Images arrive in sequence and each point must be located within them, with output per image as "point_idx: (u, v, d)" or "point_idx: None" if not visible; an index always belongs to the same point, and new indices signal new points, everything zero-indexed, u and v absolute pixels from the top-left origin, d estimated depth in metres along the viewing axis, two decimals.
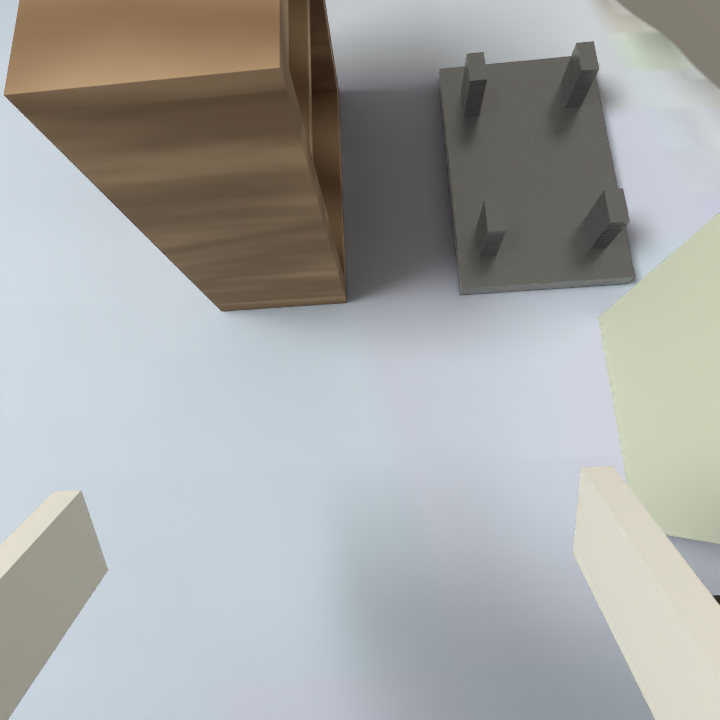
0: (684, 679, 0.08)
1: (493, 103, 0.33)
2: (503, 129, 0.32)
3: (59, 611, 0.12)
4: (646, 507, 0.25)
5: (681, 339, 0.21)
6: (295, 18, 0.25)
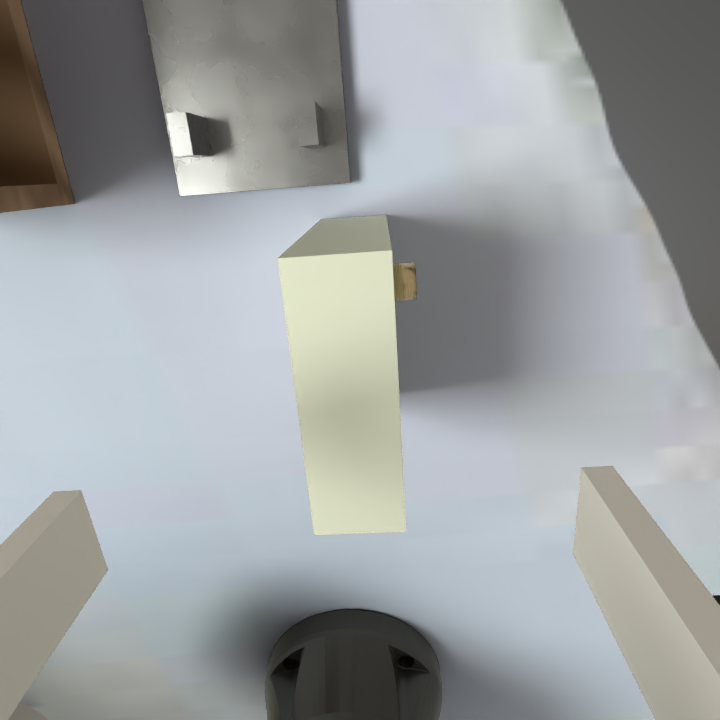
0: (684, 679, 0.08)
1: None
2: None
3: (59, 612, 0.12)
4: None
5: None
6: None
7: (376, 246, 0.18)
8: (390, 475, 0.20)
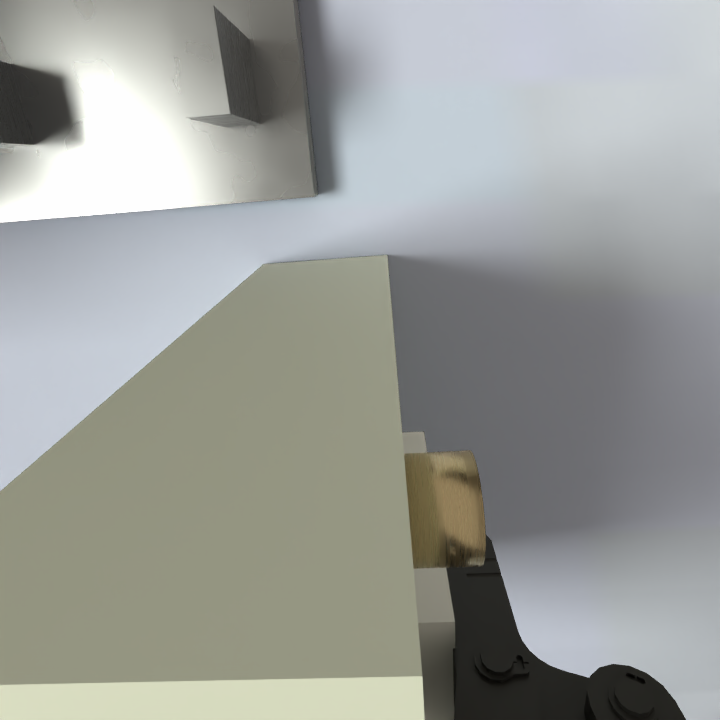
0: None
1: None
2: None
3: None
4: None
5: None
6: None
7: (341, 535, 0.04)
8: None
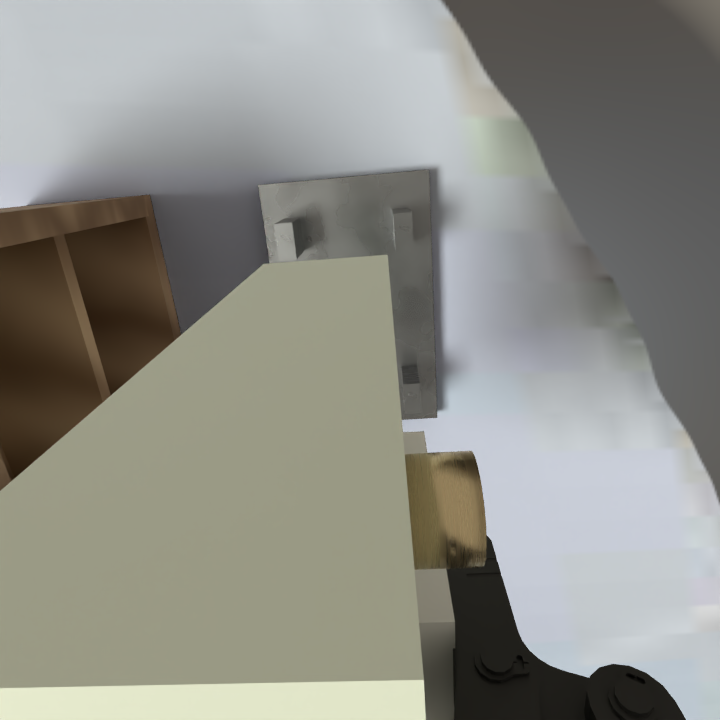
0: None
1: (319, 235, 0.30)
2: None
3: None
4: None
5: None
6: (59, 302, 0.23)
7: (342, 536, 0.04)
8: None
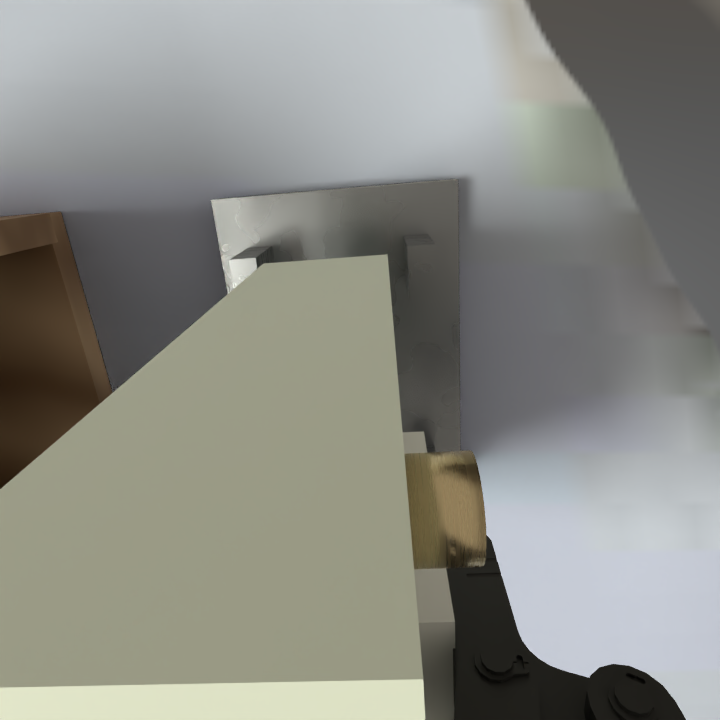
0: None
1: None
2: None
3: None
4: None
5: None
6: None
7: (341, 535, 0.04)
8: None
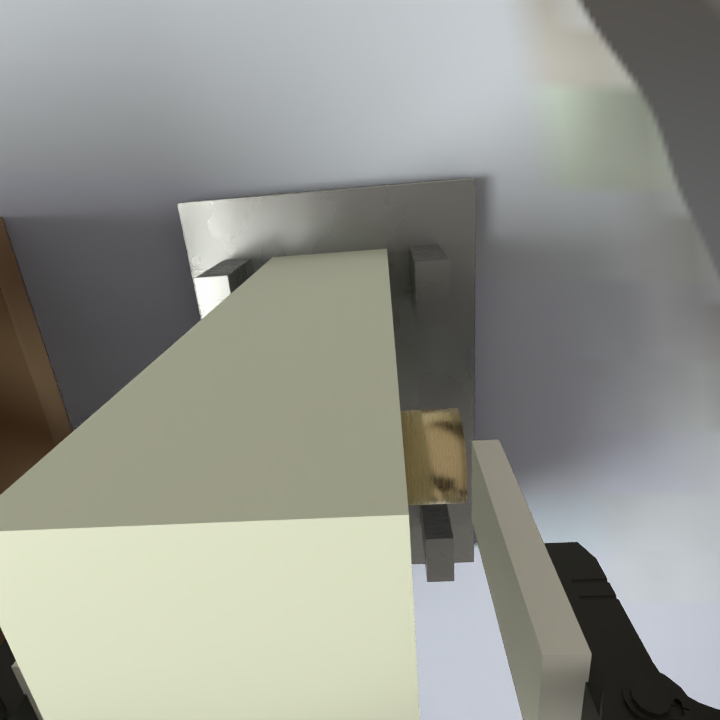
0: (512, 607, 0.10)
1: None
2: None
3: None
4: None
5: None
6: None
7: (351, 444, 0.05)
8: None
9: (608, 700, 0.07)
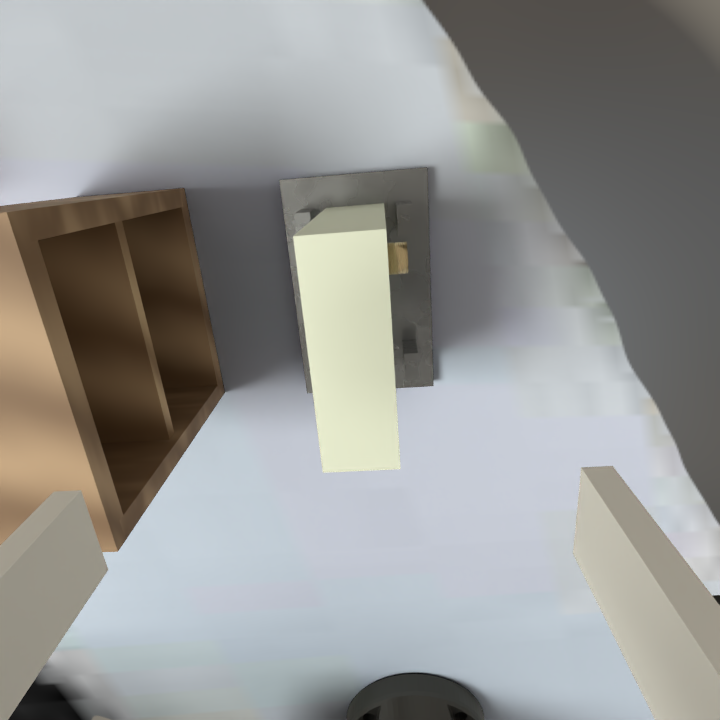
0: (684, 679, 0.08)
1: None
2: None
3: (60, 611, 0.12)
4: None
5: None
6: (117, 277, 0.28)
7: (373, 226, 0.22)
8: (386, 420, 0.24)
9: None
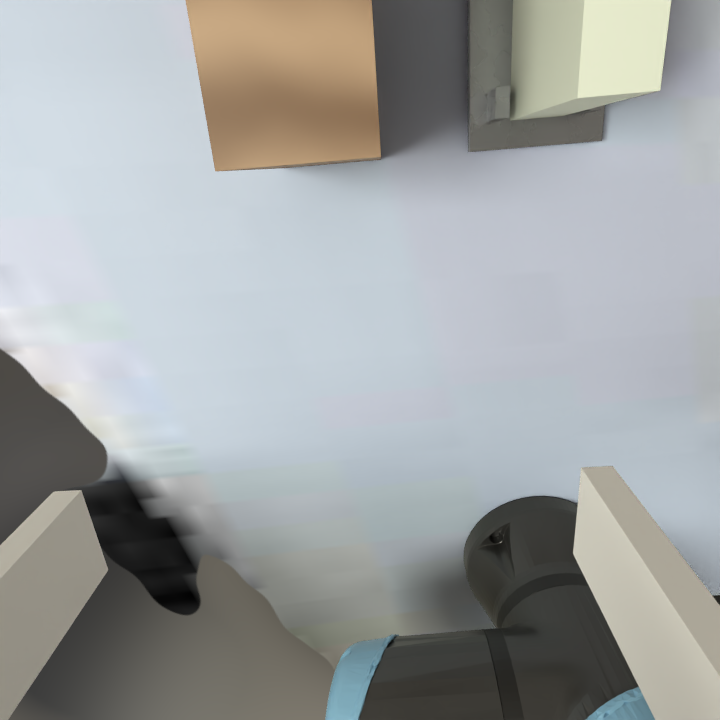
0: (684, 679, 0.08)
1: None
2: None
3: (59, 611, 0.12)
4: (516, 100, 0.36)
5: None
6: None
7: None
8: (657, 23, 0.24)
9: None
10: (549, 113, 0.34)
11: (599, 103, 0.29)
